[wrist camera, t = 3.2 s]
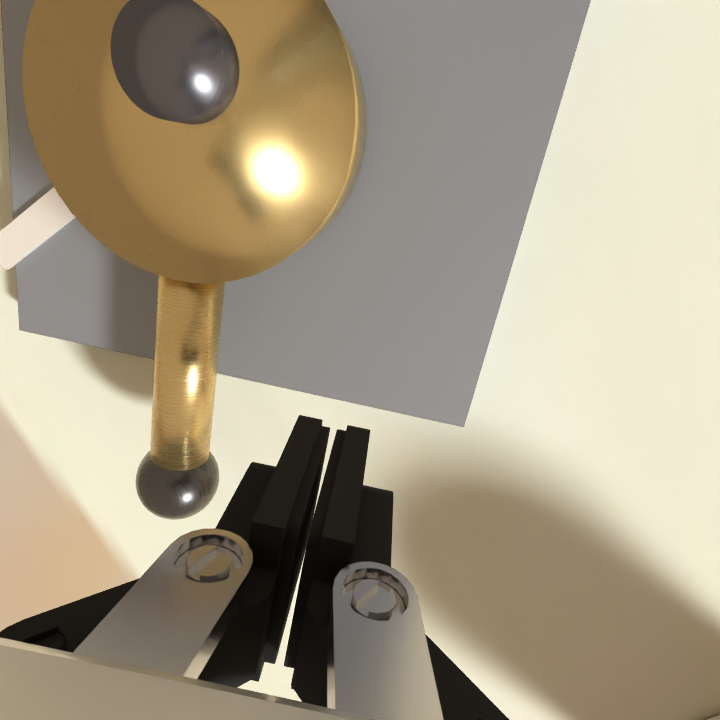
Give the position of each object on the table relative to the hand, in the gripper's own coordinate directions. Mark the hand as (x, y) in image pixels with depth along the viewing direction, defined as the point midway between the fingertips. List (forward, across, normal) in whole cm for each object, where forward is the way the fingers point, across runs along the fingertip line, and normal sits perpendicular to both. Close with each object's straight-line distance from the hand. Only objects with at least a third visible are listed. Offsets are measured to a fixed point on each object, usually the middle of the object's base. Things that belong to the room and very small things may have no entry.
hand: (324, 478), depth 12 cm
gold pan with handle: (+6, +5, -3) cm, 8 cm away
